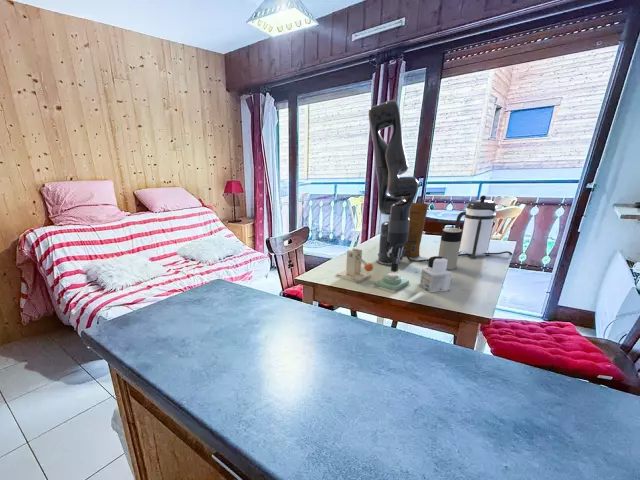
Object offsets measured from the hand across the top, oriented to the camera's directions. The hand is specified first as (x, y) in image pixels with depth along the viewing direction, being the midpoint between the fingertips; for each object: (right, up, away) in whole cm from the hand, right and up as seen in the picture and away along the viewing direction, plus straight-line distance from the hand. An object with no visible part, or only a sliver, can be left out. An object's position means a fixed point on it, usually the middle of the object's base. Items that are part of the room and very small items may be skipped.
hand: (394, 271), depth 135 cm
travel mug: (+33, +3, +20) cm, 39 cm away
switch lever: (-11, +4, +10) cm, 16 cm away
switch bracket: (-13, -2, +15) cm, 20 cm away
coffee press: (+55, +11, +36) cm, 66 cm away
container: (+15, -7, -2) cm, 17 cm away
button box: (0, -6, +3) cm, 7 cm away
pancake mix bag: (+22, +11, +41) cm, 48 cm away
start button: (0, -3, +1) cm, 3 cm away
